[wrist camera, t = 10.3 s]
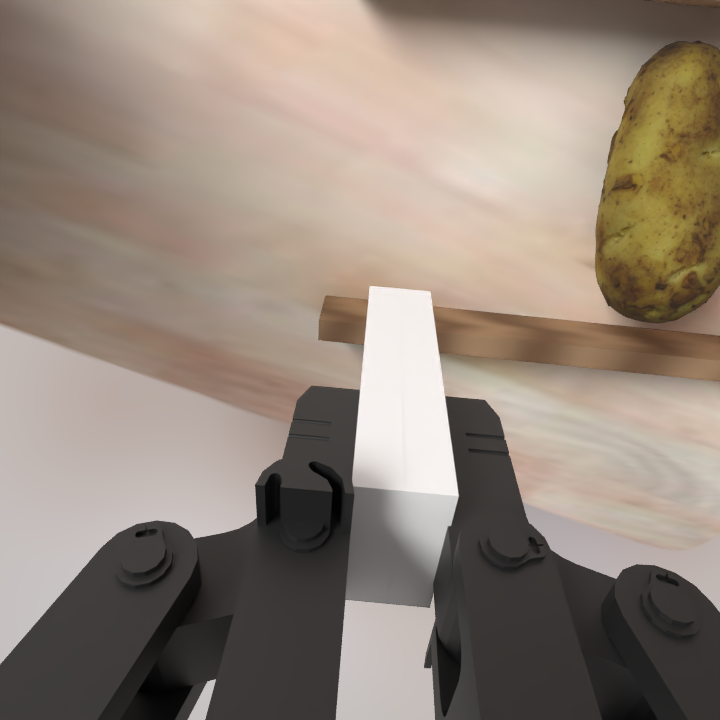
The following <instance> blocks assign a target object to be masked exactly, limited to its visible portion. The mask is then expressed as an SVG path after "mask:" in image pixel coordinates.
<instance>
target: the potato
mask: <svg viewBox="0 0 720 720" xmlns="http://www.w3.org/2000/svg"><path fill="white" fill-rule="evenodd" d="M624 104H625V112H624V114H623V117H622V122H621V124H620V127H619V129H618V130H617V131H616V132H615V134H614V136H613V137H612V141H611V147H610V152H609V155H608V161H607V162H608V167H607V171H606V176H605V179H604V185H603V189H602V195H601V200H600V204H599V210H598V216H597V223H596V257H595V269H596V277H597V282H598V285H599V287H600V289H601V292H602V294H603V296H604V298H605V300H606V302H607V304H608V306H611V307H612V308H613V309H614V310H615V311H617V312H618V313H620V314H621V315H623V316H625V317H628V318H631V319H635V320H639V321H644V322H649V323H663V322H668V321H673V320H677V319H679V318H681V317H682V316H684V315H686V314H688V313H690V312H692V311H694V310H696V309H697V308H699V307H700V306H701V305H703V304H704V303H706V302H707V301H708V299H709V298H710V297H711V296H712V295H713V293H714V292H715V290H716V289H717V288H718V286H719V285H720V50H719V49H718V48H717V47H715V46H713V45H710V44H705V43H702V42H701V41H696V42H693V43H690V42H685V41H679V42H675V43H672V44H669V45H666V46H665V47H664V48H662V49H661V50H660V51H658V52H657V53H656V54H655V55H654V56H652V57H651V58H650V59H649V60H648V61H647V62H646V63H645V64H644V65H643V66H642V67H641V69H640V71H639V73H638V74H637V76H636V77H635V79H634V81H633V83H632V85H631V86H630V87H629V89H628V92H627V97H625V100H624Z"/></svg>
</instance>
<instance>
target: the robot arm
mask: <svg viewBox="0 0 720 720" xmlns="http://www.w3.org/2000/svg"><path fill="white" fill-rule="evenodd" d="M504 437H505V436H504V432H503V429H502V425H501V421H500V418H499V416H498V415H497V414H496V413H495V412H494V410H493V409H492V408H491V407H490V406H489V404H488V403H487V402H486V401H485V400H479V399H468V398H458V397H447V396H445V393H444V386H443V379H442V372H441V364H440V357H439V350H438V343H437V336H436V328H435V321H434V314H433V307H432V300H431V292H430V291H421V290H410V289H399V288H388V287H378V286H370V289H369V299H368V310H367V321H366V332H365V342H364V353H363V364H362V375H361V386H360V390H354V389H343V388H332V387H321V386H311V387H310V388H309V389H308V390H307V391H306V392H305V393H304V394H303V395H302V396H301V397H300V398H299V399H298V400H297V404H296V408H295V412H294V416H293V421H292V423H291V427H290V431H289V437H288V439H287V443H286V447H285V451H284V455H283V459H281V460H278V461H276V462H275V463H273V464H272V465H271V466H269V467H268V468H267V469H265V470H264V471H263V472H262V474H261V476H260V477H259V479H258V481H257V483H256V484H255V487H256V506H257V518H256V519H255V520H254V521H253V522H251V523H249V524H247V525H245V526H243V527H241V528H240V529H237V530H233V531H230V532H226V533H222V534H216V535H211V536H206V537H200V538H195V539H194V538H193V537H192V535H191V534H190V532H189V531H188V530H186V529H184V528H183V527H181V526H179V525H177V524H176V523H171V522H163V521H153V522H146V523H141V524H136V525H135V526H132V527H130V528H128V529H126V530H124V531H122V532H119V533H118V534H116V535H115V536H114V537H113V538H112V539H111V540H109V541H108V542H107V543H106V544H105V545H104V546H103V547H102V548H101V549H100V550H99V551H98V552H97V553H96V554H95V556H94V557H93V558H92V559H91V560H90V561H89V563H88V564H87V565H86V566H85V567H84V568H83V569H82V571H81V572H80V573H79V574H78V576H76V578H75V579H74V580H73V581H72V582H71V583H70V584H69V586H68V587H67V588H66V589H65V590H64V592H63V593H62V594H61V595H60V596H59V597H58V598H57V600H56V601H55V602H54V603H53V604H52V605H51V607H50V608H49V609H48V610H47V611H46V613H45V614H44V615H43V616H42V617H41V618H40V619H39V620H38V622H37V623H36V624H35V625H34V626H33V627H32V629H31V630H30V631H29V632H28V633H27V634H26V636H25V637H24V638H23V639H22V640H21V641H20V642H19V643H18V645H17V646H16V647H15V648H14V649H13V651H12V652H11V653H10V654H9V655H8V656H7V657H6V659H5V660H4V661H3V662H2V663H1V665H0V720H187V719H188V718H189V715H190V714H191V712H192V710H193V708H194V706H195V704H196V702H197V700H198V698H199V696H200V694H201V692H202V690H203V688H204V686H205V685H206V683H207V681H210V680H214V679H216V682H215V686H214V690H213V693H212V697H211V701H210V705H209V708H208V712H207V716H206V719H205V720H335V719H336V706H337V694H338V693H337V692H338V682H339V669H340V656H341V645H342V632H343V619H344V607H345V600H354V601H365V602H375V603H386V604H396V605H407V606H417V607H428V608H429V607H430V604H431V600H432V597H433V593H434V601H435V602H434V603H435V615H436V616H435V617H436V619H435V623H434V627H433V630H432V634H431V638H430V641H429V645H428V649H427V652H426V658H425V664H424V668H431V665H432V671H433V689H434V705H435V720H720V612H719V611H718V610H717V608H716V607H715V606H714V605H713V603H712V602H711V601H710V600H709V599H708V598H707V597H706V596H705V595H704V594H703V593H701V591H700V590H699V589H698V588H697V587H696V586H695V585H693V584H692V583H690V582H689V581H687V580H685V579H684V578H682V577H681V576H679V575H678V574H676V573H674V572H671V571H668V570H666V569H663V568H660V567H658V566H655V565H638V564H637V565H634V566H631V567H629V568H626V569H624V570H622V572H621V573H620V575H619V576H618V578H617V579H615V578H612V577H609V576H607V575H604V574H601V573H599V572H596V571H593V570H591V569H588V568H585V567H583V566H580V565H577V564H575V563H573V562H571V561H569V560H566V559H564V558H562V557H561V556H559V555H558V554H556V553H555V552H553V551H552V550H551V549H550V547H549V545H548V543H547V541H546V540H545V538H544V537H543V536H542V535H541V534H540V533H539V532H538V531H537V530H536V529H535V528H534V527H533V526H532V525H531V524H529V522H528V520H527V517H526V514H525V511H524V506H523V503H522V499H521V495H520V492H519V488H518V484H517V481H516V477H515V473H514V469H513V466H512V462H511V458H510V456H509V451H508V447H507V444H506V440H504Z"/></svg>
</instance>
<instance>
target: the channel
mask: <svg viewBox="0 0 720 720" xmlns="http://www.w3.org/2000/svg"><path fill="white" fill-rule="evenodd" d="M647 1H658V2H668V3H679V4H689V5H700V6H710V7H720V0H647ZM367 310H368V300H362V299H352V298H343V297H333V296H326V297H325V301H324V304H323V308H322V312H321V315H320V319H319V337H318V340H323V341H333V342H343V343H352V344H362V345H364V342H365V332H366V321H367ZM433 314H434V321H435V328H436V336H437V343H438V350H439V353H449V354H459V355H469V356H478V357H488V358H498V359H507V360H517V361H527V362H536V363H546V364H556V365H565V366H575V367H585V368H595V369H604V370H614V371H624V372H633V373H643V374H653V375H662V376H672V377H682V378H691V379H701V380H711V381H720V336H714V335H705V334H695V333H685V332H675V331H665V330H656V329H646V328H636V327H626V326H616V325H607V324H597V323H587V322H577V321H568V320H558V319H548V318H538V317H528V316H519V315H509V314H499V313H489V312H480V311H470V310H460V309H450V308H440V307H433Z"/></svg>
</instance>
